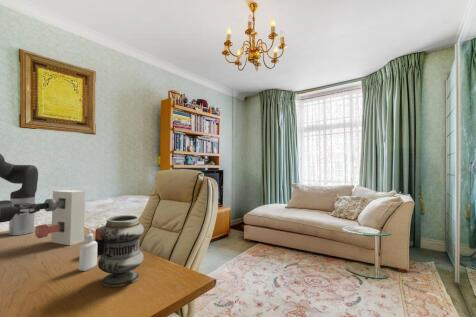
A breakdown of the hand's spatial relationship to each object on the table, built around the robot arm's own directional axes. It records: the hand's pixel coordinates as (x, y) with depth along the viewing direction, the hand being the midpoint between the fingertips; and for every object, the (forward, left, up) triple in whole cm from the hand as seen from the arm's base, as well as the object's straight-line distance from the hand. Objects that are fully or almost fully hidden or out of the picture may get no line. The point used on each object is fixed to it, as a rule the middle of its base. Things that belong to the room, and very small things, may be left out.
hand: (47, 205), depth 99 cm
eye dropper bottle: (+29, +18, -17) cm, 39 cm away
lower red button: (0, +1, -12) cm, 13 cm away
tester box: (-6, +6, -17) cm, 19 cm away
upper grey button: (-2, +3, -2) cm, 4 cm away
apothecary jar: (+42, +28, -17) cm, 54 cm away
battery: (+14, +22, -17) cm, 32 cm away
